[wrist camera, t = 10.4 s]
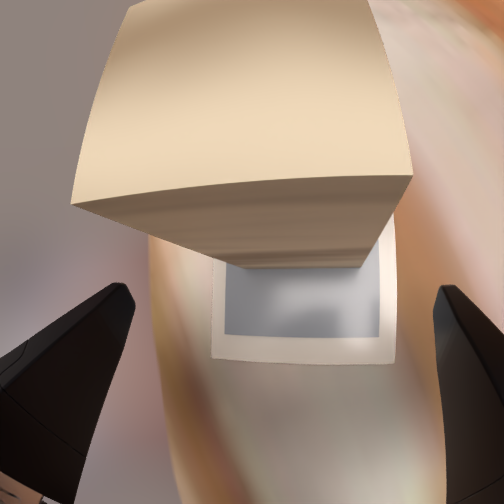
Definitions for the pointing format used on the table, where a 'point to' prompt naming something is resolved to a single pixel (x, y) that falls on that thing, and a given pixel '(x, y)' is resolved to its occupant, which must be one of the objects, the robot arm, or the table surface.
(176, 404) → the table surface
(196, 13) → the birch pillar
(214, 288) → the pedestal
